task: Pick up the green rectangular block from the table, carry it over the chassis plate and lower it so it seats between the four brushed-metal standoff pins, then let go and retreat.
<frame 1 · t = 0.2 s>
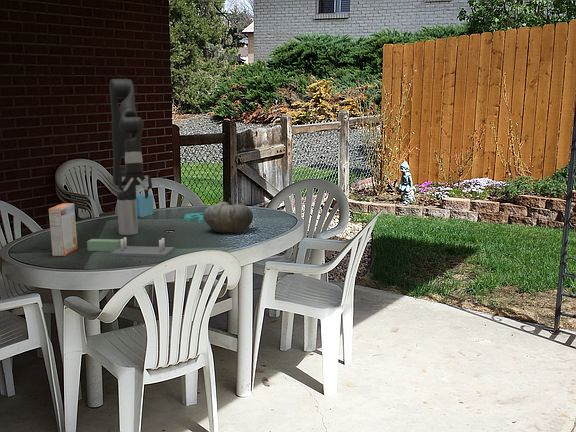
hand: (136, 199, 301), 22 cm above the table, fingers open, 8 cm apart
gourd: (228, 231, 343), on the table
green rectangular block: (105, 250, 303), on the table
chassis: (143, 252, 296), on the table
cracker box: (64, 253, 297), on the table
light blue block: (144, 216, 388), on the table
alien figure: (201, 219, 379), on the table
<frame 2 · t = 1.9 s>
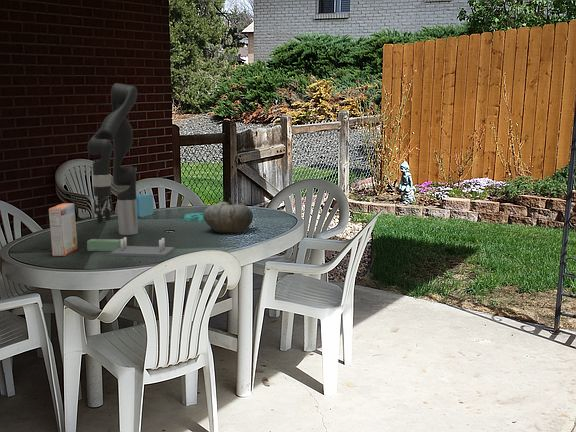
hand: (104, 221, 300), 13 cm above the table, fingers open, 8 cm apart
nothing on the table moved.
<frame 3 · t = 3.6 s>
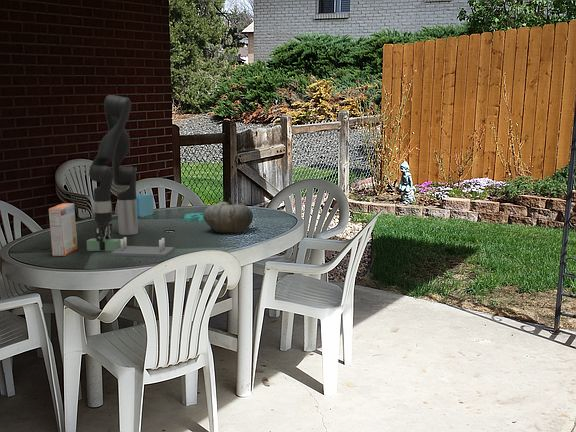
hand: (104, 248, 302), 1 cm above the table, fingers closed on green rectangular block, 5 cm apart
green rectangular block: (104, 249, 302), on the table, touching gripper
everything else where it was.
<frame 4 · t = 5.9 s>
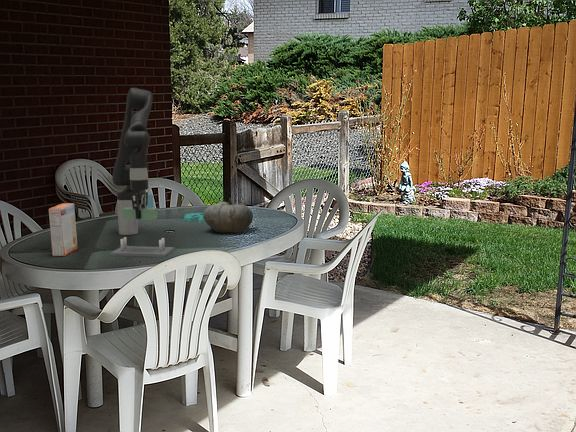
hand: (140, 217, 293), 16 cm above the table, fingers closed on green rectangular block, 5 cm apart
green rectangular block: (140, 218, 293), point 15 cm above the table, touching gripper
everything else where it was.
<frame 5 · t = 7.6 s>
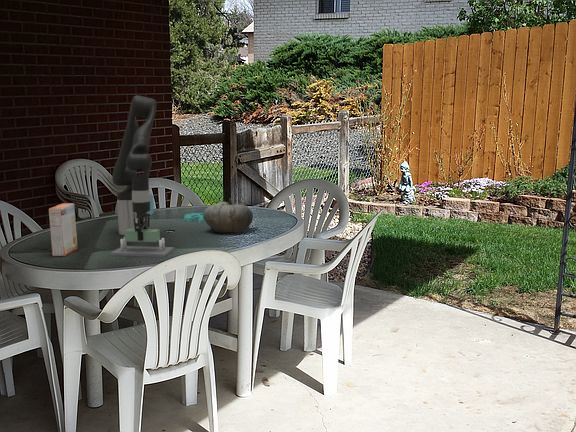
hand: (142, 239, 295), 6 cm above the table, fingers closed on green rectangular block, 5 cm apart
green rectangular block: (142, 240, 295), point 5 cm above the table, touching gripper
everything else where it was.
when the fingers open (3 cm above the table, at t = 8.7 s): green rectangular block drops 1 cm, resting on chassis.
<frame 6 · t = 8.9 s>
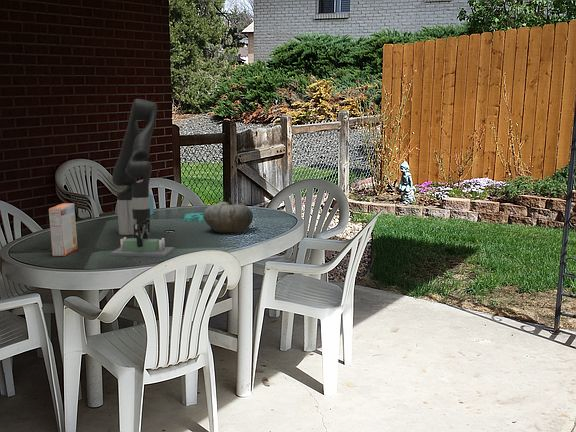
hand: (142, 245, 295), 3 cm above the table, fingers open, 6 cm apart
green rectangular block: (142, 250, 296), point 1 cm above the table, touching chassis
everything else where it was.
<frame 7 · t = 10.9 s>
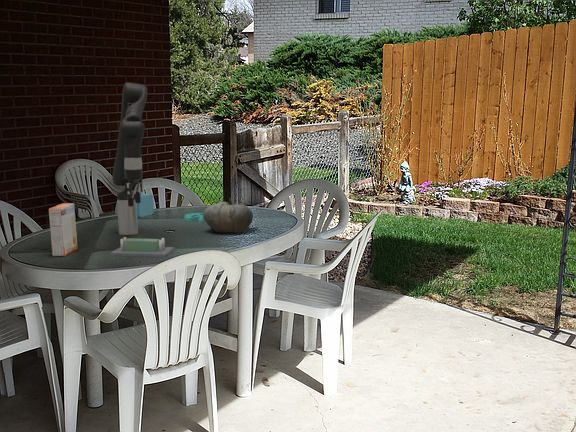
hand: (134, 204, 297), 20 cm above the table, fingers open, 8 cm apart
nothing on the table moved.
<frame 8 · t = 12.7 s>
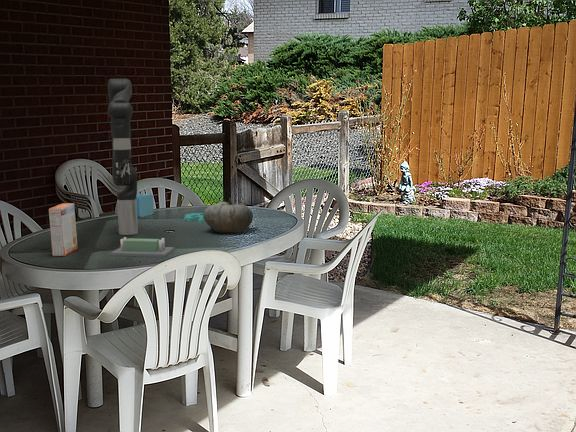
hand: (123, 184, 305), 28 cm above the table, fingers open, 8 cm apart
nothing on the table moved.
at the end: green rectangular block 0.3 cm off-centre on the chassis, point 1.2 cm above the chassis's base; green rectangular block tilted 0°; the gripper is holding nothing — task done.
